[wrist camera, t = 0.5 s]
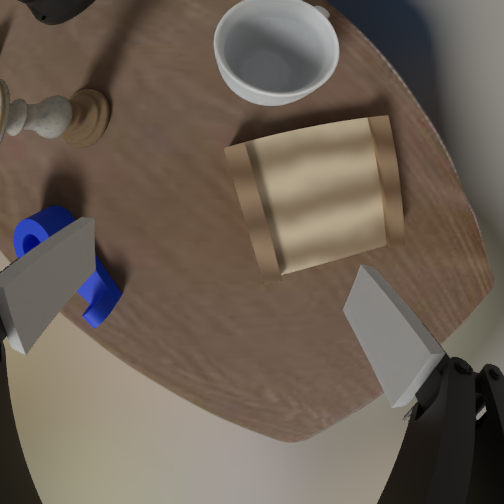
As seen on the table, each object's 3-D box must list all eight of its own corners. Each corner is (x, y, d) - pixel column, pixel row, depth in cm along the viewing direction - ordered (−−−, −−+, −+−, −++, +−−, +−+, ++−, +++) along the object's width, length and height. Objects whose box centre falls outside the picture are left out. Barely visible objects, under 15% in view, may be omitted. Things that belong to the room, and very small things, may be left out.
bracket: (33, 227, 36) (7, 243, 29) (58, 193, 34) (29, 206, 27) (100, 311, 43) (83, 337, 36) (131, 287, 41) (113, 314, 34)
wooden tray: (225, 147, 33) (223, 148, 29) (372, 116, 32) (388, 115, 28) (261, 269, 40) (264, 285, 36) (390, 234, 39) (404, 244, 35)
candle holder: (111, 84, 29) (13, 56, 10) (110, 143, 32) (6, 158, 13) (63, 96, 28) (-37, 90, 10) (62, 151, 32) (-39, 175, 13)
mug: (277, 9, 26) (293, -40, 14) (339, 57, 29) (383, 26, 17) (204, 80, 30) (185, 49, 18) (271, 129, 33) (288, 123, 21)
